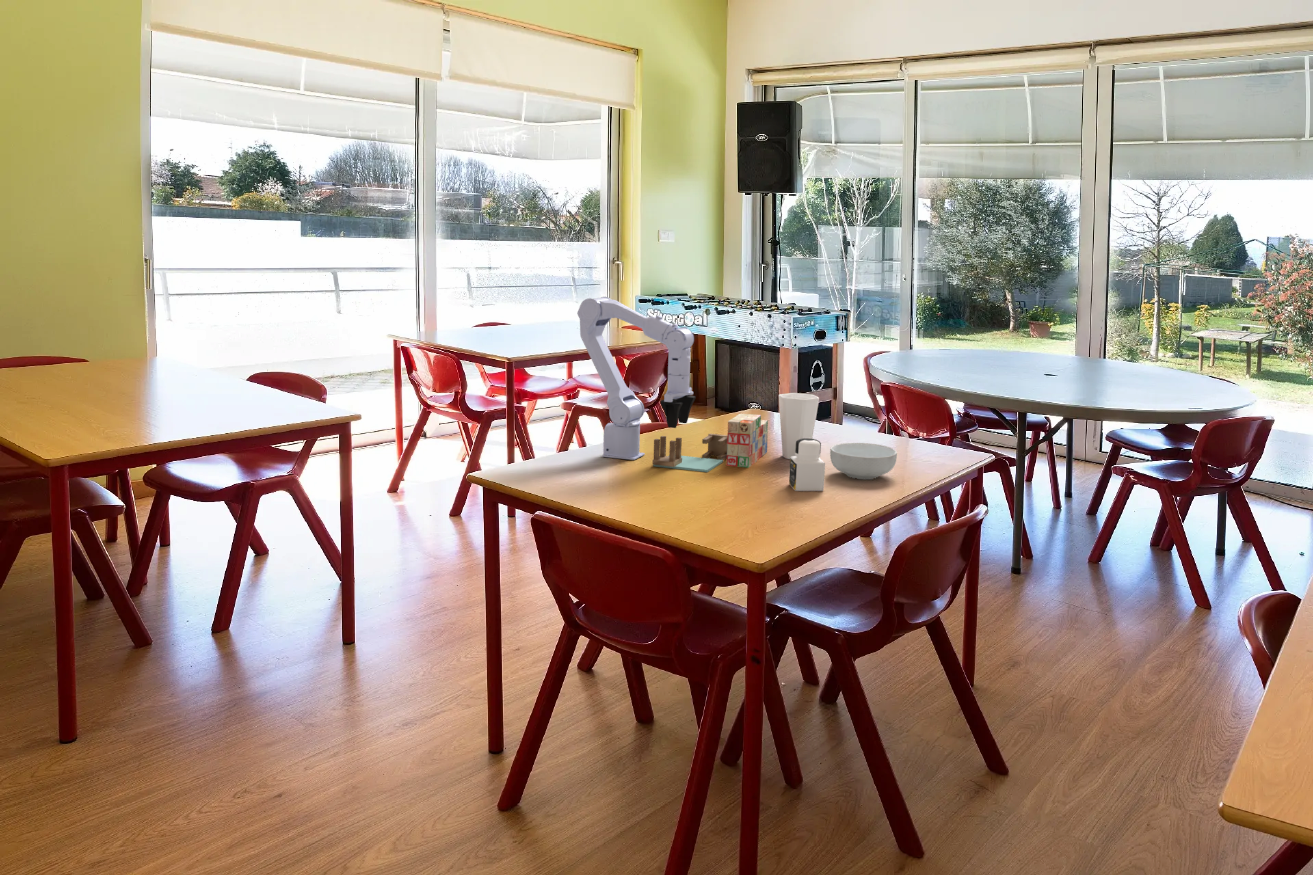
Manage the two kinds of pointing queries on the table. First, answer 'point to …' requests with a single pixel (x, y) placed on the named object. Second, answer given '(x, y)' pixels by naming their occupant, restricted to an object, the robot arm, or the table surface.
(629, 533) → the table surface
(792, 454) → the cup
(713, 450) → the toppled stool
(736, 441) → the stack of blocks
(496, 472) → the table surface
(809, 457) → the medicine bottle
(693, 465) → the mat
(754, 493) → the table surface
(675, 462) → the upturned stool
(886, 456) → the cereal bowl
